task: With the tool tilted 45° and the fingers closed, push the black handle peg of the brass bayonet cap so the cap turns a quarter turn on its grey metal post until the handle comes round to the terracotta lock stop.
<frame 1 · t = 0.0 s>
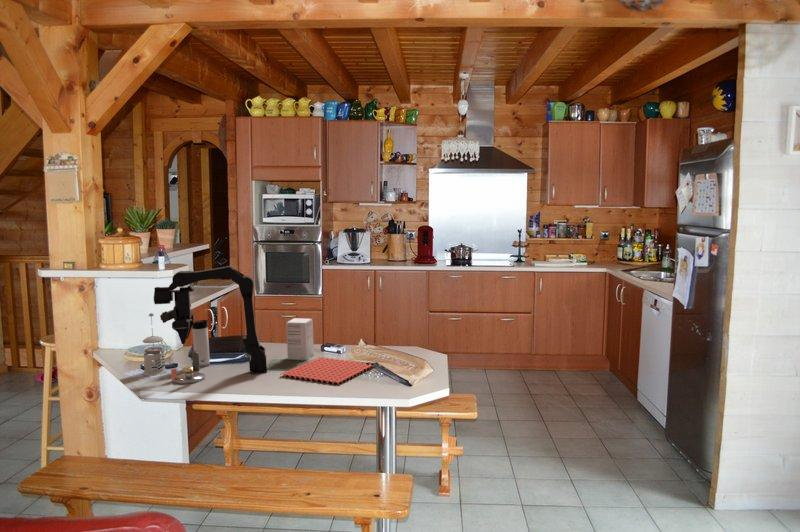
hand: (184, 341, 243), 15 cm above the table, tool pointing down, fingers open, 9 cm apart
supplement box: (301, 357, 272), on the table
french press: (156, 372, 254), on the table
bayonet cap: (191, 361, 239), point 8 cm above the table, hinge at 0.0°
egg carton: (329, 373, 247), on the table
travel mug: (202, 366, 261), on the table
post base: (189, 379, 241), on the table
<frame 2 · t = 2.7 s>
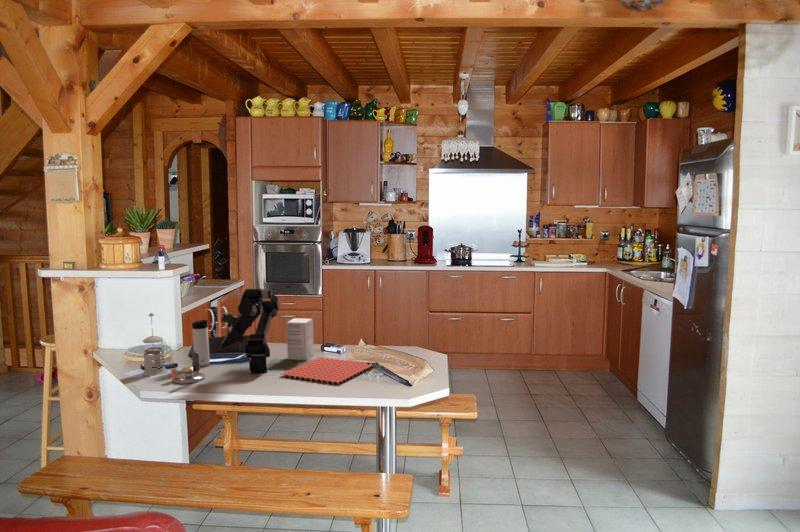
hand: (220, 347, 240), 12 cm above the table, tool tilted 45°, fingers closed
nothing on the table moved.
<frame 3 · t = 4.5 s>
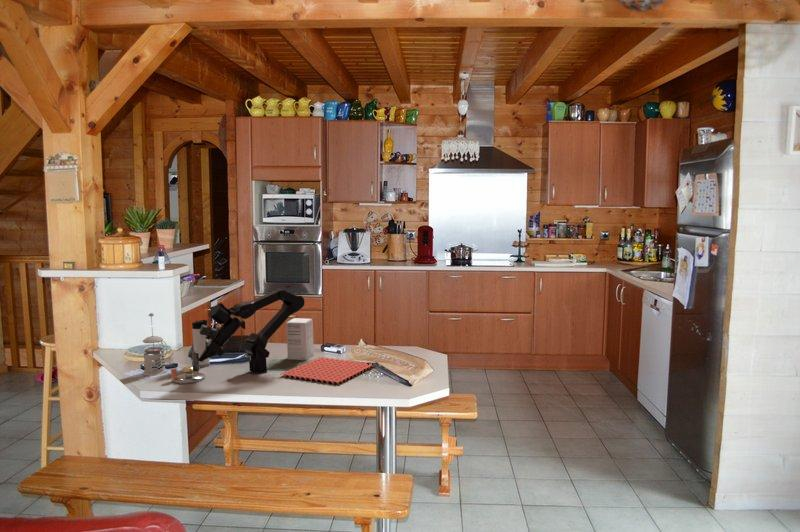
hand: (199, 360, 237), 8 cm above the table, tool tilted 45°, fingers closed
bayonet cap: (191, 361, 239), point 8 cm above the table, hinge at 0.4°, touching gripper
everything else where it was.
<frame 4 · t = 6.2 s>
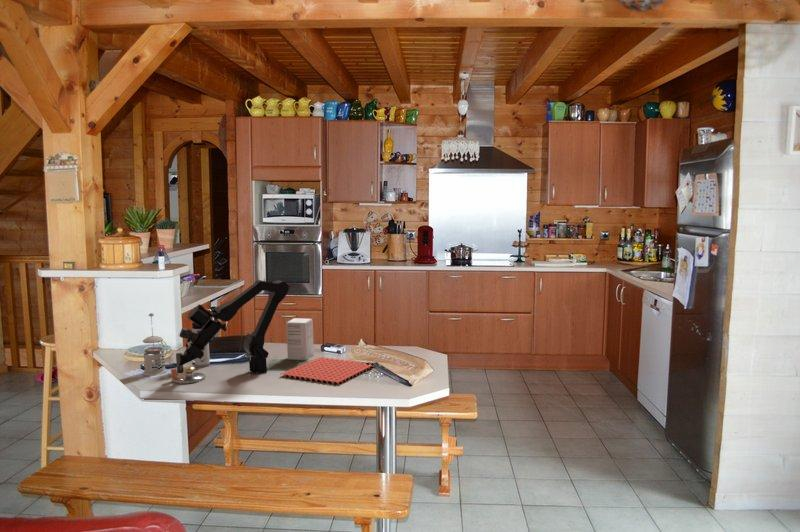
hand: (179, 364, 235), 8 cm above the table, tool tilted 45°, fingers closed on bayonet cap, 2 cm apart
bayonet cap: (184, 362, 238), point 8 cm above the table, hinge at 64.7°, touching gripper
everything else where it was.
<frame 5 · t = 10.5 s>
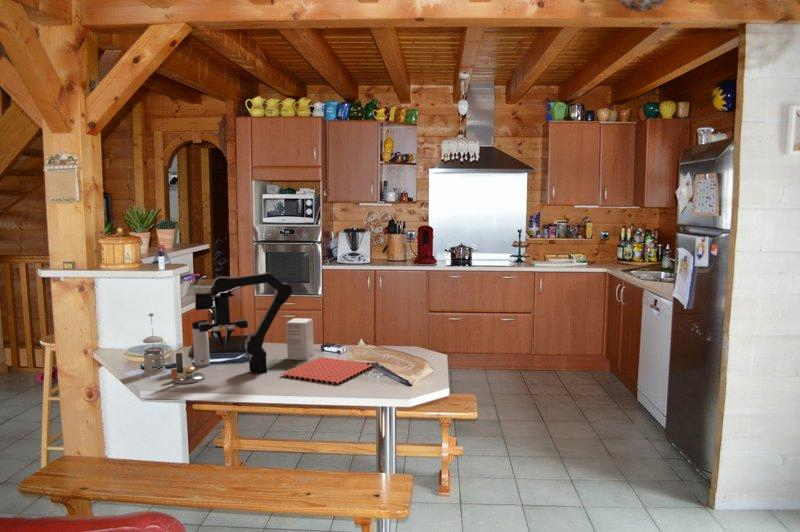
hand: (224, 346, 244), 12 cm above the table, tool pointing down, fingers closed
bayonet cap: (184, 362, 238), point 8 cm above the table, hinge at 66.2°
everything else where it was.
at the end: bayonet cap at +66° (first picture: +0°) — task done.
